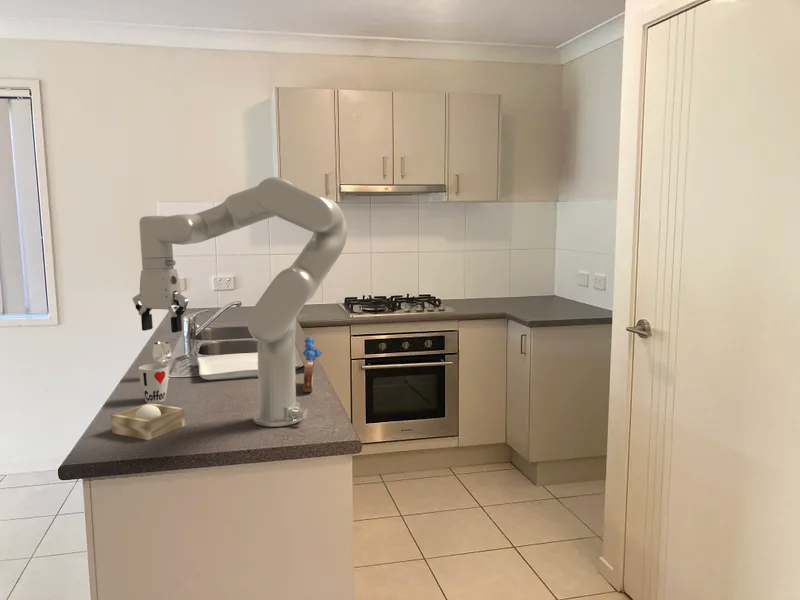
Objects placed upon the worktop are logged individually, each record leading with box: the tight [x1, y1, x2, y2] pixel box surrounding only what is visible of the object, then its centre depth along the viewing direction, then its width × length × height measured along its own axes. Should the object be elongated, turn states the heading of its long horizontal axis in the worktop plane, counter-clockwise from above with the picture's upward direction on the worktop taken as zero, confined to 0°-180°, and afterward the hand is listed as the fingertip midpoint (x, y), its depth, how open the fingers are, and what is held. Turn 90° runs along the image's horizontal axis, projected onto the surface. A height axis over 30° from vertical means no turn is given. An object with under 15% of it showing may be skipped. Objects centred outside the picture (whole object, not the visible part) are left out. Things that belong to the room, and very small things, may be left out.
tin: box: [302, 359, 315, 393], centre depth 201 cm, size 15×3×8 cm, turn 6°
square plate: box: [196, 352, 258, 381], centre depth 225 cm, size 27×27×4 cm
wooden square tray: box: [110, 402, 186, 441], centre depth 162 cm, size 12×12×4 cm
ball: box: [135, 404, 161, 420], centre depth 162 cm, size 6×6×6 cm
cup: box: [138, 363, 170, 404], centre depth 188 cm, size 8×8×10 cm
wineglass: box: [152, 341, 172, 381], centre depth 213 cm, size 6×6×12 cm
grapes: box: [302, 336, 323, 367], centre depth 226 cm, size 12×7×12 cm, turn 8°
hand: (162, 330), depth 168 cm, fingers open, 9 cm apart
